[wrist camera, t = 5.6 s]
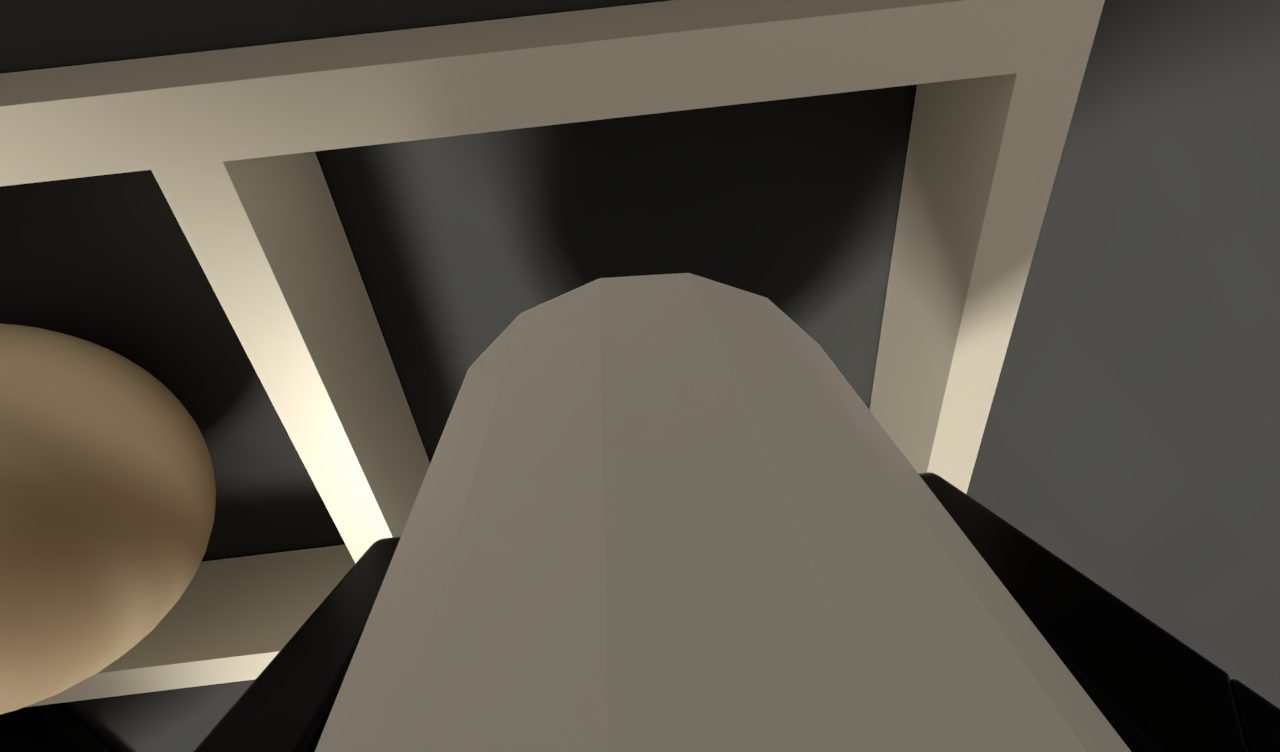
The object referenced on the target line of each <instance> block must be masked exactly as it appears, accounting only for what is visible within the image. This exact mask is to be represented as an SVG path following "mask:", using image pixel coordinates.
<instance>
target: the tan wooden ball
mask: <svg viewBox="0 0 1280 752" xmlns="http://www.w3.org/2000/svg"><path fill="white" fill-rule="evenodd" d="M215 504H216V485H215V478H214V471H213V464H212V460H211V457H210V454H209V451H208V448H207V446H206V443H205V440H204V438H203V435H202V434H201V432H200V430H199V428H198V426H197V424H196V422H195V421H194V419H193V418H192V417H191V415H190V414H189V412H188V411H187V410H186V408H185V407H184V406H183V405H182V403H181V402H180V401H179V400H178V399H177V398H176V397H175V395H174V394H173V393H172V392H171V391H170V390H169V389H168V388H167V387H166V386H165V385H163V384H162V383H161V382H160V381H159V380H158V379H157V378H155V377H154V376H153V375H151V374H150V373H149V372H147V371H146V370H145V369H143V368H142V367H140V366H138V365H137V364H135V363H134V362H132V361H130V360H129V359H127V358H125V357H123V356H121V355H119V354H117V353H115V352H113V351H111V350H109V349H107V348H105V347H102V346H100V345H97V344H95V343H92V342H90V341H86V340H83V339H80V338H77V337H74V336H71V335H67V334H63V333H59V332H55V331H50V330H46V329H42V328H37V327H30V326H23V325H15V324H0V715H1V714H4V713H8V712H12V711H15V710H18V709H21V708H24V707H26V706H29V705H31V704H34V703H36V702H39V701H41V700H44V699H46V698H49V697H52V696H54V695H57V694H59V693H61V692H63V691H65V690H66V689H68V688H70V687H72V686H74V685H76V684H78V683H80V682H81V681H83V680H85V679H87V678H89V677H91V676H93V675H94V674H96V673H98V672H100V671H101V670H102V669H104V668H105V667H107V666H108V665H110V664H111V663H113V662H114V661H115V660H117V659H118V658H120V657H121V656H123V655H124V654H125V653H126V652H128V651H129V650H130V649H132V648H133V647H134V646H135V645H136V644H137V643H139V642H140V641H141V640H142V639H143V638H144V637H145V636H147V635H148V634H149V633H150V632H151V631H152V630H153V629H154V628H155V627H156V626H157V625H158V623H159V622H160V621H161V620H162V619H163V618H164V617H165V615H166V614H167V613H168V612H169V611H170V610H171V609H172V608H173V606H174V605H175V604H176V603H177V602H178V600H179V599H180V597H181V596H182V594H183V593H184V591H185V590H186V588H187V587H188V585H189V584H190V582H191V580H192V579H193V577H194V575H195V573H196V571H197V569H198V567H199V565H200V563H201V561H202V559H203V556H204V554H205V552H206V549H207V545H208V542H209V538H210V534H211V531H212V527H213V523H214V517H215Z"/></svg>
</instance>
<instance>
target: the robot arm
mask: <svg viewBox="0 0 1280 752" xmlns="http://www.w3.org/2000/svg"><path fill="white" fill-rule="evenodd" d="M919 475H920V477H921V478H922V479H923V481H924V482H925V483H926V485H927V486H928V487H929V488H930V490H931V491H932V492H933V494H934V495H935V496H936V498H937V499H938V500H939V501H940V503H941V504H942V505H943V507H944V508H945V509H946V511H947V512H948V513H949V515H950V516H951V517H952V518H953V520H954V521H955V522H956V524H957V525H958V526H959V528H960V529H961V530H962V531H963V533H964V534H965V535H966V537H967V538H968V539H969V541H970V542H971V543H972V545H973V546H974V547H975V548H976V550H977V551H978V552H979V554H980V555H981V556H982V558H983V559H984V560H985V561H986V563H987V564H988V565H989V567H990V568H991V569H992V571H993V572H994V573H995V575H996V576H997V577H998V578H999V580H1000V581H1001V582H1002V584H1003V585H1004V586H1005V588H1006V589H1007V590H1008V591H1009V593H1010V594H1011V595H1012V597H1013V598H1014V599H1015V601H1016V602H1017V603H1018V604H1019V606H1020V607H1021V608H1022V610H1023V611H1024V612H1025V614H1026V615H1027V616H1028V618H1029V619H1030V620H1031V621H1032V623H1033V624H1034V625H1035V627H1036V628H1037V629H1038V631H1039V632H1040V633H1041V634H1042V636H1043V637H1044V638H1045V640H1046V641H1047V642H1048V644H1049V645H1050V646H1051V648H1052V649H1053V650H1054V651H1055V653H1056V654H1057V655H1058V657H1059V658H1060V659H1061V661H1062V662H1063V663H1064V664H1065V666H1066V667H1067V668H1068V670H1069V671H1070V672H1071V674H1072V675H1073V676H1074V677H1075V679H1076V680H1077V681H1078V683H1079V684H1080V685H1081V687H1082V688H1083V689H1084V691H1085V692H1086V693H1087V694H1088V696H1089V697H1090V698H1091V700H1092V701H1093V702H1094V704H1095V705H1096V706H1097V707H1098V709H1099V710H1100V711H1101V713H1102V714H1103V715H1104V717H1105V718H1106V719H1107V721H1108V722H1109V723H1110V724H1111V726H1112V727H1113V728H1114V730H1115V731H1116V732H1117V734H1118V735H1119V736H1120V737H1121V739H1122V740H1123V741H1124V743H1125V744H1126V745H1127V747H1128V748H1129V749H1130V751H1131V752H1280V709H1279V708H1278V707H1276V706H1275V705H1273V704H1272V703H1270V702H1269V701H1267V700H1266V699H1264V698H1263V697H1261V696H1260V695H1259V694H1257V693H1256V692H1254V691H1253V690H1251V689H1250V688H1248V687H1247V686H1245V685H1244V684H1243V683H1241V682H1240V681H1238V680H1235V679H1232V680H1230V678H1229V676H1228V674H1227V673H1226V672H1225V671H1223V670H1222V669H1220V668H1219V667H1217V666H1216V665H1214V664H1213V663H1211V662H1210V661H1209V660H1207V659H1206V658H1204V657H1203V656H1201V655H1200V654H1198V653H1197V652H1195V651H1194V650H1193V649H1191V648H1190V647H1188V646H1187V645H1185V644H1184V643H1182V642H1181V641H1179V640H1178V639H1177V638H1175V637H1174V636H1172V635H1171V634H1169V633H1168V632H1166V631H1165V630H1163V629H1162V628H1160V627H1159V626H1158V625H1156V624H1155V623H1153V622H1152V621H1150V620H1149V619H1147V618H1146V617H1144V616H1143V615H1142V614H1140V613H1139V612H1137V611H1136V610H1134V609H1133V608H1131V607H1130V606H1128V605H1127V604H1126V603H1124V602H1123V601H1121V600H1120V599H1118V598H1117V597H1115V596H1114V595H1112V594H1111V593H1109V592H1108V591H1107V590H1105V589H1104V588H1102V587H1101V586H1099V585H1098V584H1096V583H1095V582H1093V581H1092V580H1091V579H1089V578H1088V577H1086V576H1085V575H1083V574H1082V573H1080V572H1079V571H1077V570H1076V569H1075V568H1073V567H1072V566H1070V565H1069V564H1067V563H1066V562H1064V561H1063V560H1061V559H1060V558H1058V557H1057V556H1056V555H1054V554H1053V553H1051V552H1050V551H1048V550H1047V549H1045V548H1044V547H1042V546H1041V545H1040V544H1038V543H1037V542H1035V541H1034V540H1032V539H1031V538H1029V537H1028V536H1026V535H1025V534H1024V533H1022V532H1021V531H1019V530H1018V529H1016V528H1015V527H1013V526H1012V525H1010V524H1009V523H1007V522H1006V521H1005V520H1003V519H1002V518H1000V517H999V516H997V515H996V514H994V513H993V512H991V511H990V510H989V509H987V508H986V507H984V506H983V505H981V504H980V503H978V502H977V501H975V500H974V499H972V498H971V497H970V496H968V495H967V494H965V493H964V492H962V491H961V490H959V489H958V488H956V487H955V486H954V485H952V484H951V483H949V482H948V481H946V480H945V479H943V478H942V477H940V476H939V475H937V474H934V473H930V472H927V473H919ZM400 538H401V537H392V538H384V539H379V540H377V541H376V542H374V543H373V544H372V545H371V546H370V547H369V549H368V550H367V551H366V552H365V553H364V554H363V556H362V557H361V558H360V559H359V560H358V561H357V562H356V564H355V565H354V566H353V567H352V568H351V569H350V571H349V572H348V573H347V574H346V575H345V576H344V578H343V579H342V580H341V581H340V582H339V583H338V584H337V586H336V587H335V588H334V589H333V590H332V591H331V593H330V594H329V595H328V596H327V597H326V598H325V600H324V601H323V602H322V603H321V604H320V605H319V607H318V608H317V609H316V610H315V611H314V612H313V613H312V615H311V616H310V617H309V618H308V619H307V620H306V622H305V623H304V624H303V625H302V626H301V627H300V629H299V630H298V631H297V632H296V633H295V634H294V636H293V637H292V638H291V639H290V640H289V641H288V642H287V644H286V645H285V646H284V647H283V648H282V649H281V651H280V652H279V653H278V654H277V655H276V656H275V658H274V659H273V660H272V661H271V662H270V663H269V665H268V666H267V667H266V668H265V669H264V670H263V671H262V673H261V674H260V675H259V676H258V677H257V678H256V680H255V681H254V682H253V683H252V684H251V685H250V687H249V688H248V689H247V690H246V691H245V692H244V694H243V695H242V696H241V697H240V698H239V699H238V700H237V702H236V703H235V704H234V705H233V706H232V707H231V709H230V710H229V711H228V712H227V713H226V714H225V716H224V717H223V718H222V719H221V720H220V721H219V722H218V724H217V725H216V726H215V727H214V728H213V729H212V731H211V732H210V733H209V734H208V735H207V736H206V738H205V739H204V740H203V741H202V742H201V743H200V745H199V746H198V747H197V748H196V749H195V750H194V751H193V752H315V750H316V747H317V745H318V742H319V740H320V737H321V735H322V732H323V730H324V727H325V725H326V722H327V720H328V717H329V715H330V712H331V710H332V707H333V705H334V702H335V700H336V697H337V695H338V692H339V690H340V687H341V685H342V682H343V680H344V677H345V675H346V672H347V670H348V667H349V665H350V662H351V660H352V657H353V655H354V653H355V650H356V648H357V645H358V643H359V640H360V638H361V635H362V633H363V630H364V628H365V625H366V623H367V620H368V618H369V615H370V613H371V610H372V608H373V605H374V603H375V600H376V598H377V595H378V593H379V590H380V588H381V585H382V583H383V580H384V578H385V575H386V573H387V570H388V568H389V565H390V563H391V560H392V558H393V555H394V553H395V550H396V548H397V545H398V543H399V540H400ZM0 752H111V751H110V750H109V749H108V748H107V747H105V746H104V745H103V744H102V743H101V742H100V741H99V740H97V739H96V738H95V737H94V736H93V735H92V734H91V733H89V732H88V731H87V730H86V729H85V728H84V727H83V726H81V725H80V724H79V723H78V722H77V721H76V720H75V719H73V718H72V717H71V716H70V715H69V714H68V713H67V712H66V711H64V710H63V709H62V708H61V707H60V706H59V705H58V704H48V705H40V706H32V707H24V708H21V709H18V710H15V711H12V712H8V713H4V714H1V715H0Z"/></svg>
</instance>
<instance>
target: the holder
mask: <svg viewBox="0 0 1280 752" xmlns="http://www.w3.org/2000/svg"><path fill="white" fill-rule="evenodd" d="M1104 2H1105V0H671V1H661V2H652V3H643V4H634V5H625V6H616V7H606V8H597V9H588V10H579V11H570V12H561V13H552V14H542V15H533V16H524V17H515V18H506V19H497V20H487V21H478V22H469V23H460V24H451V25H442V26H433V27H423V28H414V29H405V30H396V31H387V32H378V33H368V34H359V35H350V36H341V37H332V38H323V39H314V40H304V41H295V42H286V43H277V44H268V45H259V46H250V47H240V48H231V49H222V50H213V51H204V52H195V53H185V54H176V55H167V56H158V57H149V58H140V59H131V60H121V61H112V62H103V63H94V64H85V65H76V66H66V67H57V68H48V69H39V70H30V71H21V72H12V73H2V74H0V187H1V186H10V185H19V184H28V183H37V182H46V181H55V180H64V179H73V178H81V177H90V176H99V175H108V174H117V173H126V172H135V171H144V170H151V171H152V173H153V175H154V177H155V179H156V181H157V182H158V184H159V186H160V188H161V190H162V192H163V194H164V196H165V198H166V200H167V202H168V204H169V206H170V207H171V209H172V211H173V213H174V215H175V217H176V219H177V221H178V223H179V225H180V227H181V229H182V231H183V233H184V234H185V236H186V238H187V240H188V242H189V244H190V246H191V248H192V250H193V252H194V254H195V256H196V258H197V259H198V261H199V263H200V265H201V267H202V269H203V271H204V273H205V275H206V277H207V279H208V281H209V283H210V285H211V286H212V288H213V290H214V292H215V294H216V296H217V298H218V300H219V302H220V304H221V306H222V308H223V310H224V311H225V313H226V315H227V317H228V319H229V321H230V323H231V325H232V327H233V329H234V331H235V333H236V335H237V336H238V338H239V340H240V342H241V344H242V346H243V348H244V350H245V352H246V354H247V356H248V358H249V360H250V362H251V363H252V365H253V367H254V369H255V371H256V373H257V375H258V377H259V379H260V381H261V383H262V385H263V387H264V388H265V390H266V392H267V394H268V396H269V398H270V400H271V402H272V404H273V406H274V408H275V410H276V412H277V414H278V415H279V417H280V419H281V421H282V423H283V425H284V427H285V429H286V431H287V433H288V435H289V437H290V439H291V440H292V442H293V444H294V446H295V448H296V450H297V452H298V454H299V456H300V458H301V460H302V462H303V464H304V465H305V467H306V469H307V471H308V473H309V475H310V477H311V479H312V481H313V483H314V485H315V487H316V489H317V491H318V492H319V494H320V496H321V498H322V500H323V502H324V504H325V506H326V508H327V510H328V512H329V514H330V516H331V517H332V519H333V521H334V523H335V525H336V527H337V529H338V531H339V533H340V535H341V537H342V539H343V541H344V543H345V545H337V546H329V547H320V548H312V549H303V550H295V551H287V552H278V553H270V554H262V555H253V556H245V557H236V558H228V559H220V560H211V561H203V562H201V563H200V565H199V567H198V569H197V571H196V573H195V575H194V577H193V579H192V580H191V582H190V584H189V585H188V587H187V588H186V590H185V591H184V593H183V594H182V596H181V597H180V599H179V600H178V602H177V603H176V604H175V605H174V606H173V608H172V609H171V610H170V611H169V612H168V613H167V614H166V615H165V617H164V618H163V619H162V620H161V621H160V622H159V623H158V625H157V626H156V627H155V628H154V629H153V630H152V631H151V632H150V633H149V634H148V635H147V636H145V637H144V638H143V639H142V640H141V641H140V642H139V643H137V644H136V645H135V646H134V647H133V648H132V649H130V650H129V651H128V652H126V653H125V654H124V655H123V656H121V657H120V658H118V659H117V660H115V661H114V662H113V663H111V664H110V665H108V666H107V667H105V668H104V669H102V670H101V671H100V672H98V673H96V674H94V675H93V676H91V677H89V678H87V679H85V680H83V681H81V682H80V683H78V684H76V685H74V686H72V687H70V688H68V689H66V690H65V691H63V692H61V693H59V694H57V695H54V696H52V697H49V698H46V699H44V700H41V701H39V702H36V703H34V704H31V705H29V706H26V707H32V706H40V705H48V704H56V703H65V702H73V701H81V700H89V699H98V698H106V697H114V696H122V695H130V694H139V693H147V692H155V691H163V690H171V689H180V688H188V687H196V686H204V685H212V684H221V683H229V682H237V681H245V680H254V679H256V678H257V677H258V676H259V675H260V674H261V673H262V671H263V670H264V669H265V668H266V667H267V666H268V665H269V663H270V662H271V661H272V660H273V659H274V658H275V656H276V655H277V654H278V653H279V652H280V651H281V649H282V648H283V647H284V646H285V645H286V644H287V642H288V641H289V640H290V639H291V638H292V637H293V636H294V634H295V633H296V632H297V631H298V630H299V629H300V627H301V626H302V625H303V624H304V623H305V622H306V620H307V619H308V618H309V617H310V616H311V615H312V613H313V612H314V611H315V610H316V609H317V608H318V607H319V605H320V604H321V603H322V602H323V601H324V600H325V598H326V597H327V596H328V595H329V594H330V593H331V591H332V590H333V589H334V588H335V587H336V586H337V584H338V583H339V582H340V581H341V580H342V579H343V578H344V576H345V575H346V574H347V573H348V572H349V571H350V569H351V568H352V567H353V566H354V565H355V564H356V562H357V561H358V560H359V559H360V558H361V557H362V556H363V554H364V553H365V552H366V551H367V550H368V549H369V547H370V546H371V545H372V544H373V543H374V542H376V541H377V540H379V539H384V538H392V537H401V535H402V533H403V530H404V528H405V525H406V523H407V520H408V518H409V515H410V513H411V510H412V508H413V505H414V503H415V500H416V498H417V495H418V493H419V490H420V488H421V485H422V483H423V480H424V478H425V475H426V473H427V470H428V468H429V465H430V462H429V460H428V457H427V454H426V452H425V449H424V446H423V443H422V441H421V438H420V435H419V433H418V430H417V427H416V424H415V422H414V419H413V416H412V414H411V411H410V408H409V405H408V403H407V400H406V397H405V395H404V392H403V389H402V386H401V384H400V381H399V378H398V376H397V373H396V370H395V367H394V365H393V362H392V359H391V357H390V354H389V351H388V348H387V346H386V343H385V340H384V338H383V335H382V332H381V329H380V327H379V324H378V321H377V319H376V316H375V313H374V310H373V308H372V305H371V302H370V300H369V297H368V294H367V291H366V289H365V286H364V283H363V281H362V278H361V275H360V272H359V270H358V267H357V264H356V262H355V259H354V256H353V253H352V251H351V248H350V245H349V243H348V240H347V237H346V235H345V232H344V229H343V226H342V224H341V221H340V218H339V216H338V213H337V210H336V207H335V205H334V202H333V199H332V197H331V194H330V191H329V188H328V186H327V183H326V180H325V178H324V175H323V172H322V169H321V167H320V164H319V161H318V159H317V156H316V153H315V151H324V150H333V149H342V148H351V147H360V146H369V145H378V144H386V143H395V142H404V141H413V140H422V139H431V138H440V137H449V136H458V135H467V134H476V133H485V132H494V131H503V130H512V129H521V128H530V127H539V126H548V125H557V124H566V123H575V122H584V121H593V120H602V119H611V118H620V117H629V116H638V115H647V114H656V113H665V112H674V111H683V110H691V109H700V108H709V107H718V106H727V105H736V104H745V103H754V102H763V101H772V100H781V99H790V98H799V97H808V96H817V95H826V94H835V93H844V92H853V91H862V90H871V89H880V88H889V87H898V86H907V85H916V84H917V88H916V95H915V102H914V109H913V116H912V123H911V129H910V136H909V143H908V150H907V157H906V164H905V170H904V177H903V184H902V191H901V198H900V205H899V211H898V218H897V225H896V232H895V239H894V246H893V253H892V259H891V266H890V273H889V280H888V287H887V294H886V300H885V307H884V314H883V321H882V328H881V335H880V342H879V348H878V355H877V362H876V369H875V376H874V383H873V389H872V396H871V403H870V412H871V413H872V414H873V415H874V417H875V418H876V419H877V421H878V422H879V423H880V425H881V426H882V427H883V428H884V430H885V431H886V432H887V434H888V435H889V436H890V438H891V439H892V440H893V442H894V443H895V444H896V445H897V447H898V448H899V449H900V451H901V452H902V453H903V455H904V456H905V457H906V458H907V460H908V461H909V462H910V464H911V465H912V466H913V468H914V469H915V470H916V472H917V473H918V474H919V473H927V472H930V473H934V474H937V475H939V476H940V477H942V478H943V479H945V480H946V481H948V482H949V483H951V484H952V485H954V486H955V487H956V488H958V489H959V490H961V491H962V492H964V493H965V494H966V493H967V489H968V486H969V482H970V479H971V475H972V472H973V468H974V464H975V461H976V457H977V454H978V450H979V447H980V443H981V440H982V436H983V432H984V429H985V425H986V422H987V418H988V415H989V411H990V408H991V404H992V400H993V397H994V393H995V390H996V386H997V383H998V379H999V375H1000V372H1001V368H1002V365H1003V361H1004V358H1005V354H1006V351H1007V347H1008V343H1009V340H1010V336H1011V333H1012V329H1013V326H1014V322H1015V319H1016V315H1017V311H1018V308H1019V304H1020V301H1021V297H1022V294H1023V290H1024V286H1025V283H1026V279H1027V276H1028V272H1029V269H1030V265H1031V262H1032V258H1033V254H1034V251H1035V247H1036V244H1037V240H1038V237H1039V233H1040V230H1041V226H1042V222H1043V219H1044V215H1045V212H1046V208H1047V205H1048V201H1049V198H1050V194H1051V190H1052V187H1053V183H1054V180H1055V176H1056V173H1057V169H1058V165H1059V162H1060V158H1061V155H1062V151H1063V148H1064V144H1065V141H1066V137H1067V133H1068V130H1069V126H1070V123H1071V119H1072V116H1073V112H1074V109H1075V105H1076V101H1077V98H1078V94H1079V91H1080V87H1081V84H1082V80H1083V76H1084V73H1085V69H1086V66H1087V62H1088V59H1089V55H1090V52H1091V48H1092V44H1093V41H1094V37H1095V34H1096V30H1097V27H1098V23H1099V20H1100V16H1101V12H1102V9H1103V5H1104Z"/></svg>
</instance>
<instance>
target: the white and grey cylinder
mask: <svg viewBox="0 0 1280 752" xmlns="http://www.w3.org/2000/svg"><path fill="white" fill-rule="evenodd" d="M315 752H1131V751H1130V749H1129V748H1128V747H1127V745H1126V744H1125V743H1124V741H1123V740H1122V739H1121V737H1120V736H1119V735H1118V734H1117V732H1116V731H1115V730H1114V728H1113V727H1112V726H1111V724H1110V723H1109V722H1108V721H1107V719H1106V718H1105V717H1104V715H1103V714H1102V713H1101V711H1100V710H1099V709H1098V707H1097V706H1096V705H1095V704H1094V702H1093V701H1092V700H1091V698H1090V697H1089V696H1088V694H1087V693H1086V692H1085V691H1084V689H1083V688H1082V687H1081V685H1080V684H1079V683H1078V681H1077V680H1076V679H1075V677H1074V676H1073V675H1072V674H1071V672H1070V671H1069V670H1068V668H1067V667H1066V666H1065V664H1064V663H1063V662H1062V661H1061V659H1060V658H1059V657H1058V655H1057V654H1056V653H1055V651H1054V650H1053V649H1052V648H1051V646H1050V645H1049V644H1048V642H1047V641H1046V640H1045V638H1044V637H1043V636H1042V634H1041V633H1040V632H1039V631H1038V629H1037V628H1036V627H1035V625H1034V624H1033V623H1032V621H1031V620H1030V619H1029V618H1028V616H1027V615H1026V614H1025V612H1024V611H1023V610H1022V608H1021V607H1020V606H1019V604H1018V603H1017V602H1016V601H1015V599H1014V598H1013V597H1012V595H1011V594H1010V593H1009V591H1008V590H1007V589H1006V588H1005V586H1004V585H1003V584H1002V582H1001V581H1000V580H999V578H998V577H997V576H996V575H995V573H994V572H993V571H992V569H991V568H990V567H989V565H988V564H987V563H986V561H985V560H984V559H983V558H982V556H981V555H980V554H979V552H978V551H977V550H976V548H975V547H974V546H973V545H972V543H971V542H970V541H969V539H968V538H967V537H966V535H965V534H964V533H963V531H962V530H961V529H960V528H959V526H958V525H957V524H956V522H955V521H954V520H953V518H952V517H951V516H950V515H949V513H948V512H947V511H946V509H945V508H944V507H943V505H942V504H941V503H940V501H939V500H938V499H937V498H936V496H935V495H934V494H933V492H932V491H931V490H930V488H929V487H928V486H927V485H926V483H925V482H924V481H923V479H922V478H921V477H920V475H919V474H918V473H917V472H916V470H915V469H914V468H913V466H912V465H911V464H910V462H909V461H908V460H907V458H906V457H905V456H904V455H903V453H902V452H901V451H900V449H899V448H898V447H897V445H896V444H895V443H894V442H893V440H892V439H891V438H890V436H889V435H888V434H887V432H886V431H885V430H884V428H883V427H882V426H881V425H880V423H879V422H878V421H877V419H876V418H875V417H874V415H873V414H872V413H871V412H870V410H869V409H868V408H867V406H866V405H865V404H864V402H863V401H862V400H861V399H860V397H859V396H858V395H857V393H856V392H855V391H854V389H853V388H852V387H851V385H850V384H849V383H848V382H847V380H846V379H845V378H844V376H843V375H842V374H841V372H840V371H839V370H838V369H837V367H836V366H835V365H834V363H833V362H832V361H831V359H830V358H829V357H828V355H827V354H826V353H825V352H824V350H823V349H822V348H821V346H820V345H819V344H818V343H817V342H816V341H814V340H813V339H812V338H811V337H810V336H809V335H808V334H807V333H806V332H805V331H803V330H802V329H801V328H800V327H799V326H798V325H797V324H796V323H795V322H794V321H792V320H791V319H790V318H789V317H788V316H787V315H786V314H785V313H784V312H783V311H781V310H780V309H779V308H778V307H777V306H776V305H775V304H774V303H773V302H772V301H770V300H769V299H768V298H766V297H763V296H760V295H757V294H754V293H751V292H748V291H744V290H741V289H738V288H735V287H732V286H729V285H726V284H722V283H719V282H716V281H713V280H710V279H707V278H704V277H701V276H697V275H694V274H691V273H676V274H660V275H643V276H627V277H610V278H599V279H596V280H594V281H592V282H590V283H587V284H585V285H583V286H581V287H578V288H576V289H574V290H572V291H569V292H567V293H565V294H563V295H560V296H558V297H556V298H554V299H551V300H549V301H547V302H545V303H542V304H540V305H538V306H536V307H533V308H531V309H529V310H526V311H524V312H522V313H520V314H519V315H518V316H517V317H516V318H515V319H514V320H513V321H512V323H511V324H510V325H509V326H508V327H507V328H506V329H505V330H504V331H503V332H502V333H501V334H500V335H499V336H498V337H497V338H496V340H495V341H494V342H493V343H492V344H491V345H490V346H489V347H488V348H487V349H486V350H485V351H484V352H483V353H482V354H481V356H480V357H479V358H478V359H477V360H476V361H475V362H474V363H473V364H472V365H471V366H470V367H469V368H468V370H467V373H466V375H465V378H464V380H463V383H462V385H461V388H460V390H459V393H458V395H457V398H456V400H455V403H454V405H453V408H452V410H451V413H450V415H449V418H448V420H447V423H446V425H445V428H444V430H443V433H442V435H441V438H440V440H439V443H438V445H437V448H436V450H435V453H434V455H433V458H432V460H431V463H430V465H429V468H428V470H427V473H426V475H425V478H424V480H423V483H422V485H421V488H420V490H419V493H418V495H417V498H416V500H415V503H414V505H413V508H412V510H411V513H410V515H409V518H408V520H407V523H406V525H405V528H404V530H403V533H402V535H401V538H400V540H399V543H398V545H397V548H396V550H395V553H394V555H393V558H392V560H391V563H390V565H389V568H388V570H387V573H386V575H385V578H384V580H383V583H382V585H381V588H380V590H379V593H378V595H377V598H376V600H375V603H374V605H373V608H372V610H371V613H370V615H369V618H368V620H367V623H366V625H365V628H364V630H363V633H362V635H361V638H360V640H359V643H358V645H357V648H356V650H355V653H354V655H353V657H352V660H351V662H350V665H349V667H348V670H347V672H346V675H345V677H344V680H343V682H342V685H341V687H340V690H339V692H338V695H337V697H336V700H335V702H334V705H333V707H332V710H331V712H330V715H329V717H328V720H327V722H326V725H325V727H324V730H323V732H322V735H321V737H320V740H319V742H318V745H317V747H316V750H315Z"/></svg>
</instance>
